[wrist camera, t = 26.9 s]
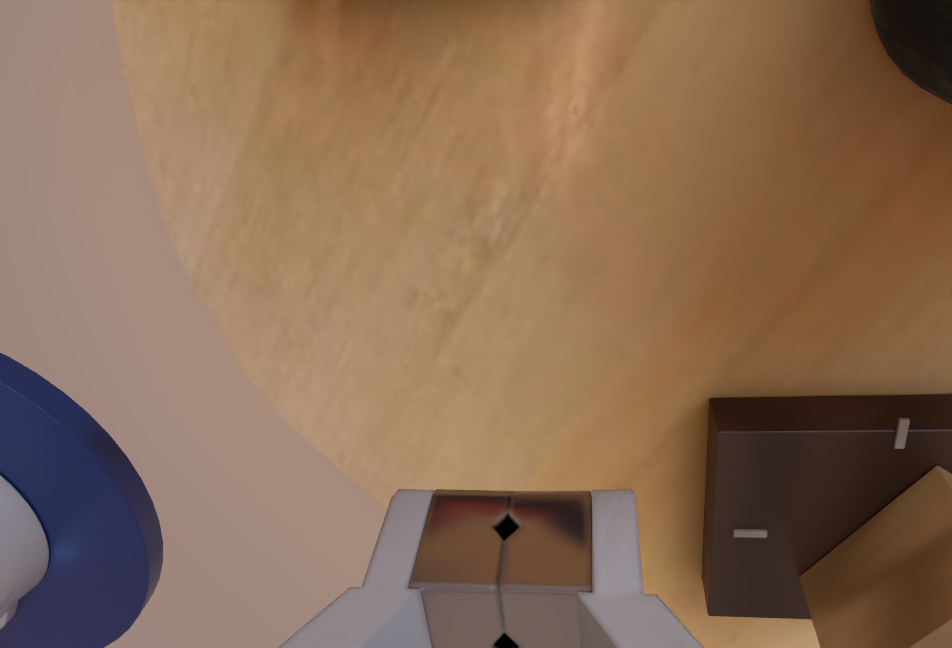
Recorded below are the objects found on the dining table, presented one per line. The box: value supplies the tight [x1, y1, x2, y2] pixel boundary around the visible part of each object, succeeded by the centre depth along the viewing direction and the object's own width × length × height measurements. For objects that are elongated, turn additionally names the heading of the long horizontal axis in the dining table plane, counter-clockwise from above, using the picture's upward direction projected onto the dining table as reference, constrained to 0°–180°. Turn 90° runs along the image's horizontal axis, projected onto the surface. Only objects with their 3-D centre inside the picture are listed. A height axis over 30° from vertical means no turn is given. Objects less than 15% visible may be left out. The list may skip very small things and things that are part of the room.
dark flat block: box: [702, 394, 952, 619], centre depth 33 cm, size 14×12×3 cm
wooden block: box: [799, 466, 952, 648], centre depth 29 cm, size 8×2×6 cm, turn 150°
